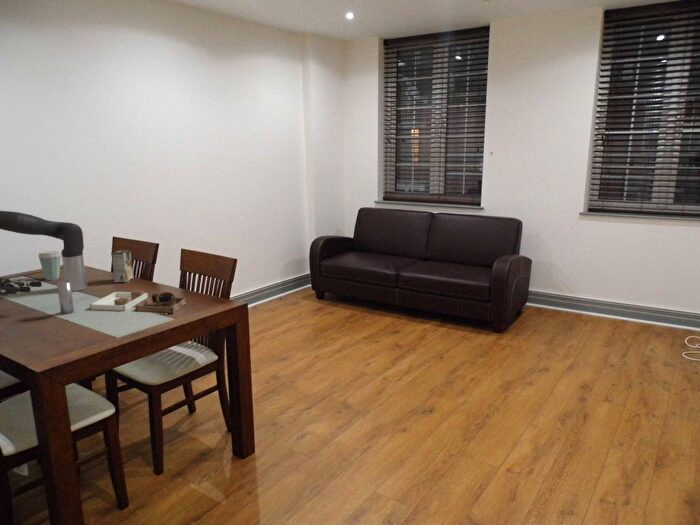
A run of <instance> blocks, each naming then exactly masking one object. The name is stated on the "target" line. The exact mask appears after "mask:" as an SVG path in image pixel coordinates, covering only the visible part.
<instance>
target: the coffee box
mask: <svg viewBox="0 0 700 525" xmlns="http://www.w3.org/2000/svg"><path fill="white" fill-rule="evenodd" d="M111 261H112V270H113V271H112V272H113V278H114V279H113V280H114V283H115V282H127V281H128V282H130V281H131V280H130V279H132V278H133V279H135V276H134V271H133V270H134V269H133V259H132V250H131V249H119V250H116V251H114V252H111ZM133 279H132V280H133ZM129 280H130V281H129ZM128 282H127V283H128Z"/></svg>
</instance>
